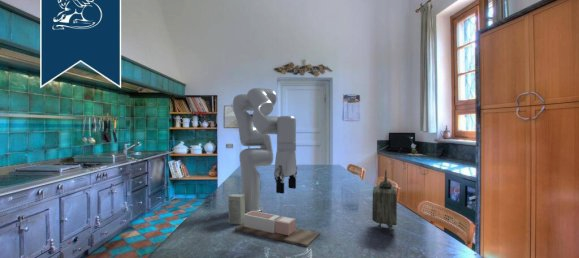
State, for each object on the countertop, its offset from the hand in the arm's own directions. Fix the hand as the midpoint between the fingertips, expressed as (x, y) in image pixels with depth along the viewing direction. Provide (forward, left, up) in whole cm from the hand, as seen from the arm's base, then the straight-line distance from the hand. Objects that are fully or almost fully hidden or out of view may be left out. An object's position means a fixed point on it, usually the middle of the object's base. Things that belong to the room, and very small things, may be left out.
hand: (286, 190), depth 106 cm
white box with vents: (-11, 0, -18) cm, 21 cm away
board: (-5, 0, -18) cm, 18 cm away
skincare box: (-26, +1, -18) cm, 31 cm away
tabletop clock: (+33, +25, -18) cm, 45 cm away
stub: (0, 0, -16) cm, 16 cm away
